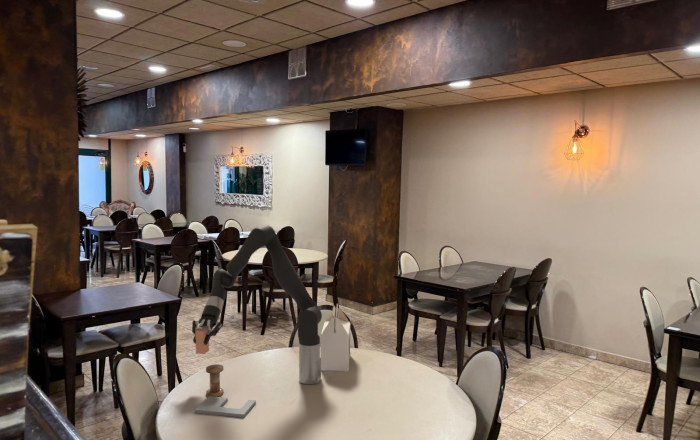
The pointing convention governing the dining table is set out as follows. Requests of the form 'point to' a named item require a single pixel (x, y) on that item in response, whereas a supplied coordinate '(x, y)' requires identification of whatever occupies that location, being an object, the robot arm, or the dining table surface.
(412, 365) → the dining table surface
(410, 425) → the dining table surface
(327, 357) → the gable box
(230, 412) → the notched board
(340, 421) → the dining table surface
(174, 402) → the dining table surface
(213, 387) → the bobbin
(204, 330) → the orange tall block
